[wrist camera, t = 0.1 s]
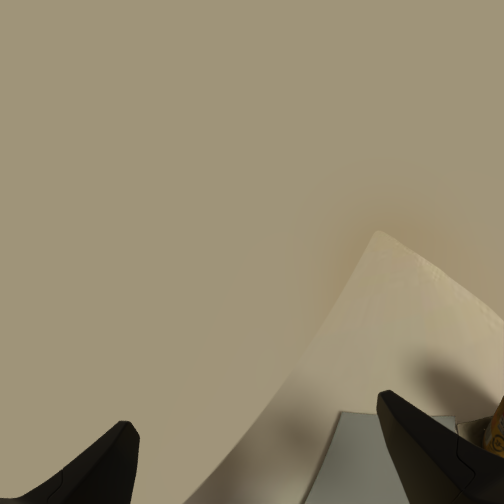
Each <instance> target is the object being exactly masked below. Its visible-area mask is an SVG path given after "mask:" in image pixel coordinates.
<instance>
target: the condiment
mask: <svg viewBox="0 0 504 504" xmlns="http://www.w3.org/2000/svg"><path fill="white" fill-rule="evenodd" d="M457 427H458V434H459V436H461V437H463V438H464V439H466V440H468V441H469V442H471V443H473V444H475V445H476V446H478V447H480V448H482V449H485V450H487V451H489V452H491V453H493V454H496V455H498V456H501V457H503V458H504V396H503V398H502V400H501V402H500V404H499V406H498V408H497V410H496V412H495V414H494V416H490V417H486V418H483V419H479V420H476V421H472V422H465V423H462V424H457ZM484 429H485V430H484Z"/></svg>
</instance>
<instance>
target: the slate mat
mask: <svg viewBox="0 0 504 504" xmlns="http://www.w3.org/2000/svg"><path fill="white" fill-rule="evenodd" d="M432 418H433V419H435V420H436V421H438V422H439V423H441V424H442V425H444V426H445V427H447V428H449V429H450V430H452V431H453V432H455V416H437V417H432ZM305 504H409V501H408V499H407V496H406V494H405V491H404V489H403V486H402V483H401V481H400V479H399V476H398V474H397V471H396V469H395V466H394V464H393V461H392V459H391V457H390V454H389V452H388V449H387V447H386V443H385V440H384V436H383V432H382V429H381V425H380V422H379V418H378V415H369V414H358V413H348V412H342V414H341V417H340V420H339V423H338V426H337V428H336V431H335V434H334V437H333V439H332V442H331V444H330V447H329V450H328V452H327V455H326V457H325V460H324V462H323V464H322V467H321V469H320V471H319V474H318V476H317V478H316V480H315V483H314V485H313V487H312V489H311V491H310V493H309V496H308V498H307V500H306V502H305Z"/></svg>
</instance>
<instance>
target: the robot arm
mask: <svg viewBox="0 0 504 504" xmlns="http://www.w3.org/2000/svg"><path fill="white" fill-rule="evenodd" d="M376 410H377V415H378V418H379V422H380V425H381V429H382V432H383V436H384V440H385V443H386V447H387V449H388V452H389V454H390V457H391V459H392V461H393V464H394V466H395V469H396V471H397V474H398V476H399V479H400V481H401V483H402V486H403V489H404V491H405V494H406V496H407V499H408V501H409V504H504V458H503V457H501V456H498V455H496V454H493V453H491V452H489V451H487V450H485V449H482V448H480V447H478V446H476V445H475V444H473V443H471V442H469V441H468V440H466V439H464V438H463V437H461V436H458V434H456V433H455V432H453V431H452V430H450V429H449V428H447V427H445V426H444V425H442V424H441V423H439V422H438V421H436V420H435V419H433V418H432V417H430V416H429V415H427V414H426V413H424V412H422V411H421V410H419V409H418V408H416V407H415V406H413V405H412V404H410V403H409V402H407V401H406V400H405V399H403V398H402V397H400V396H399V395H397V394H396V393H394V392H393V391H391V390H386V391H383V392H380V393H379V394H378V399H377V407H376ZM139 442H140V436H139V434H138V432H137V431H136V429H135V428H134V426H133V425H132V423H131V422H129V421H119V422H118V423H117V424H115V425H114V426H113V427H112V428H111V429H110V430H108V431H107V432H106V433H105V434H104V435H103V436H101V437H100V438H99V439H98V440H97V441H96V442H94V443H93V444H92V445H91V446H90V447H88V448H87V449H86V450H85V451H84V452H82V453H81V454H80V455H79V456H77V457H76V458H75V459H74V460H73V461H71V462H70V463H69V464H68V465H66V466H65V467H64V468H63V470H60V471H59V472H58V473H56V474H55V475H54V476H52V477H51V478H50V479H48V480H47V481H46V482H44V483H42V484H41V485H39V486H38V487H36V488H34V489H33V490H31V491H29V492H28V493H26V494H24V495H23V496H21V497H18V498H11V499H9V498H0V504H130V502H131V497H132V492H133V487H134V482H135V477H136V471H137V463H138V452H139Z"/></svg>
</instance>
